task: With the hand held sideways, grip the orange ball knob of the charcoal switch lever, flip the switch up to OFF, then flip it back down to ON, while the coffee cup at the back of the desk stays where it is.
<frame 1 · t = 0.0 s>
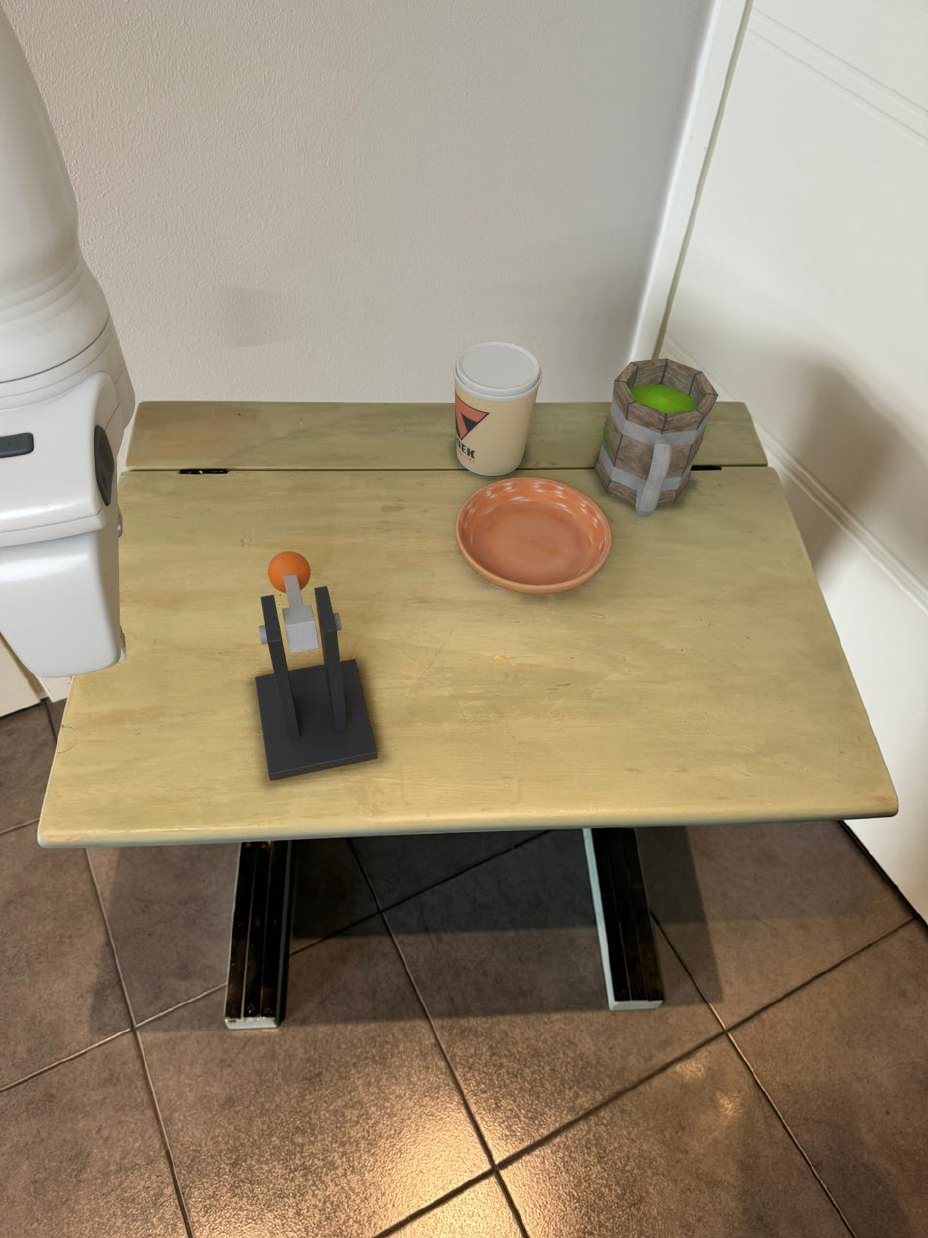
hand: (109, 588, 47), 26 cm above the table, tool pointing down, fingers open, 8 cm apart
saucer: (530, 549, 87), on the table
lever: (294, 597, 67), point 11 cm above the table, hinge at -22.0°
switch base: (315, 720, 73), on the table
mug: (640, 491, 94), on the table
coffee cup: (489, 455, 97), on the table
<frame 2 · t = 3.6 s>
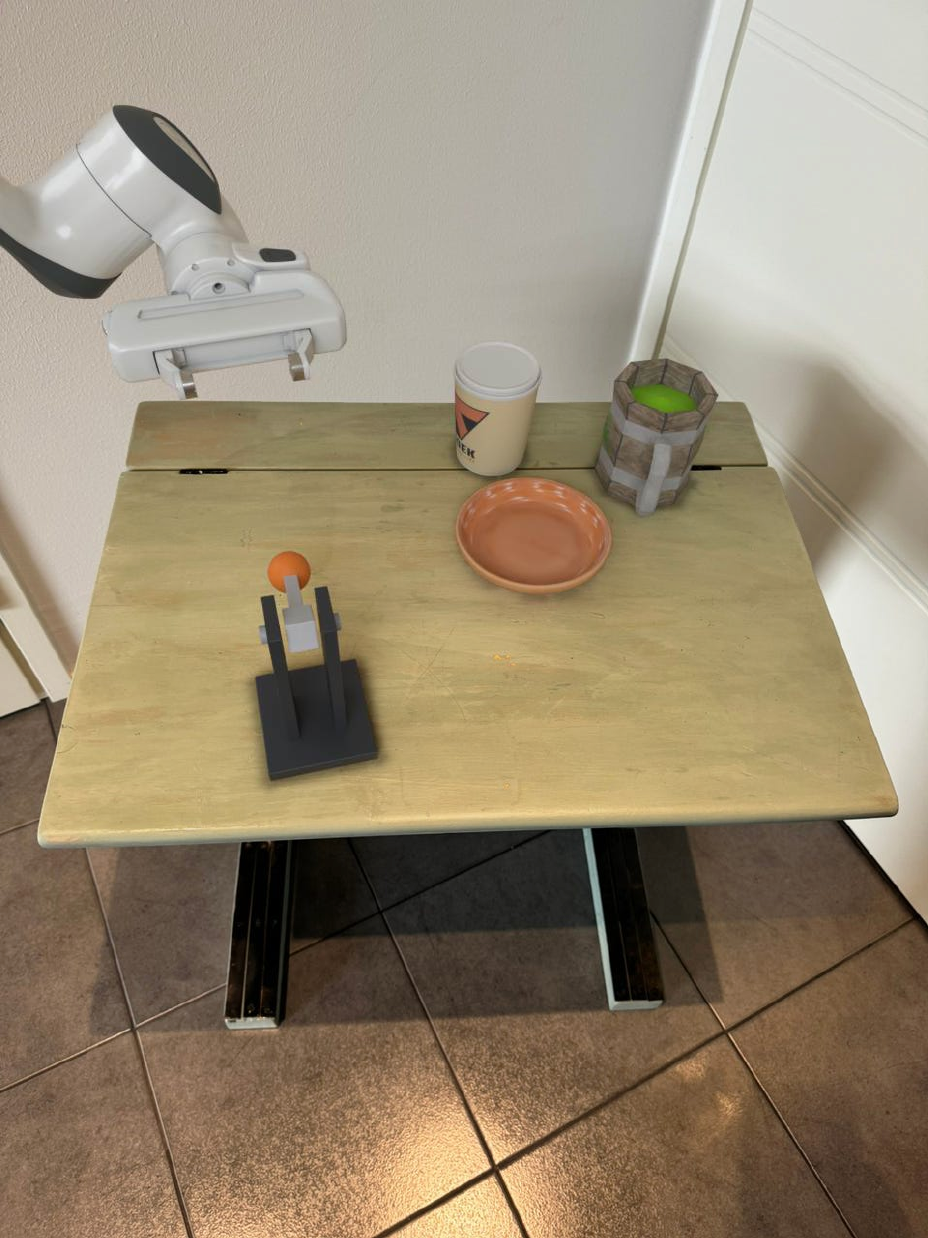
hand: (245, 382, 69), 20 cm above the table, tool horizontal, fingers open, 8 cm apart
nothing on the table moved.
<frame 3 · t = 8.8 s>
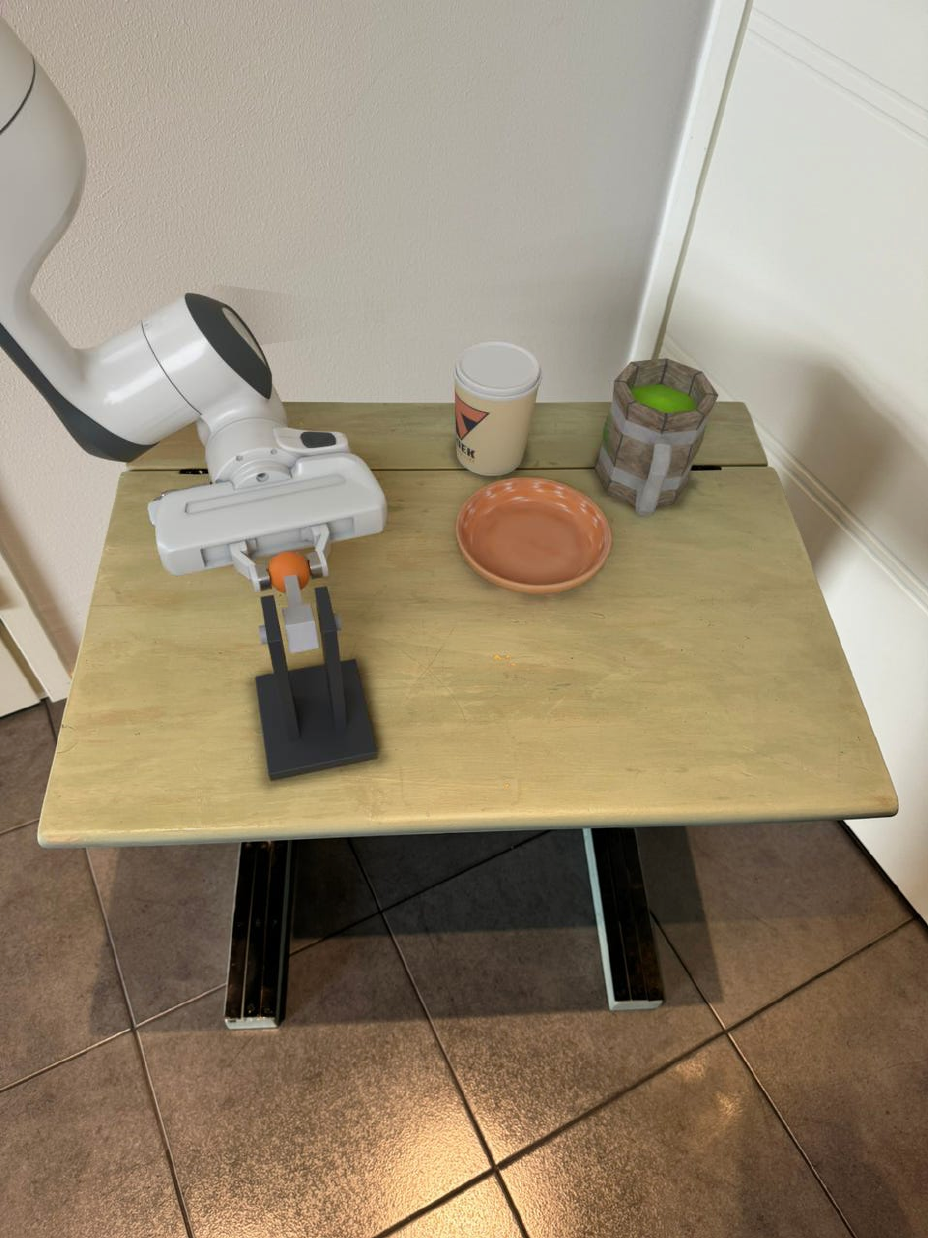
hand: (292, 579, 71), 9 cm above the table, tool horizontal, fingers closed on lever, 3 cm apart
lever: (294, 597, 67), point 11 cm above the table, hinge at -22.0°, touching gripper
everything else where it was.
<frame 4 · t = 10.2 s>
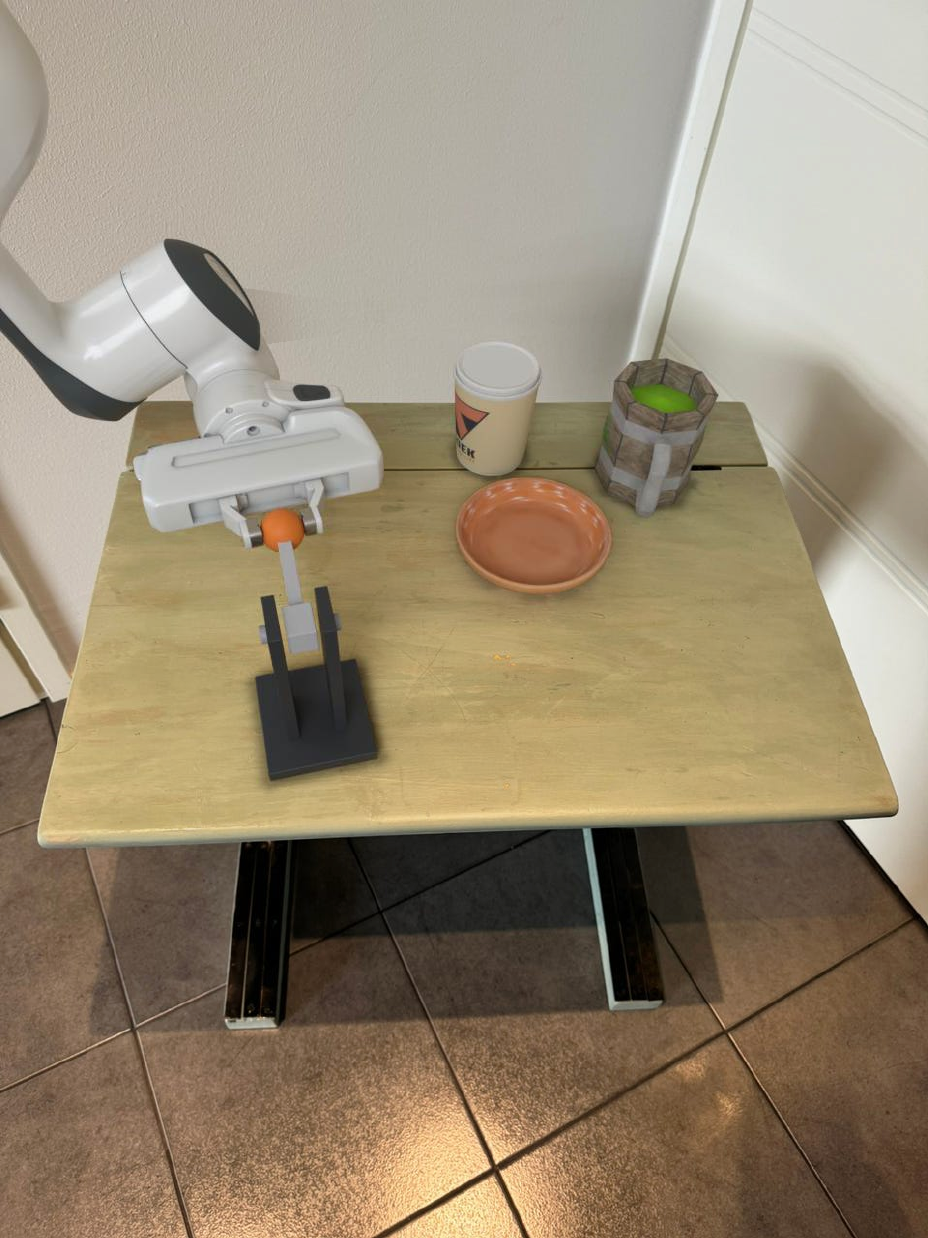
hand: (284, 535, 67), 14 cm above the table, tool horizontal, fingers closed on lever, 3 cm apart
lever: (290, 575, 65), point 13 cm above the table, hinge at 3.2°, touching gripper
everything else where it was.
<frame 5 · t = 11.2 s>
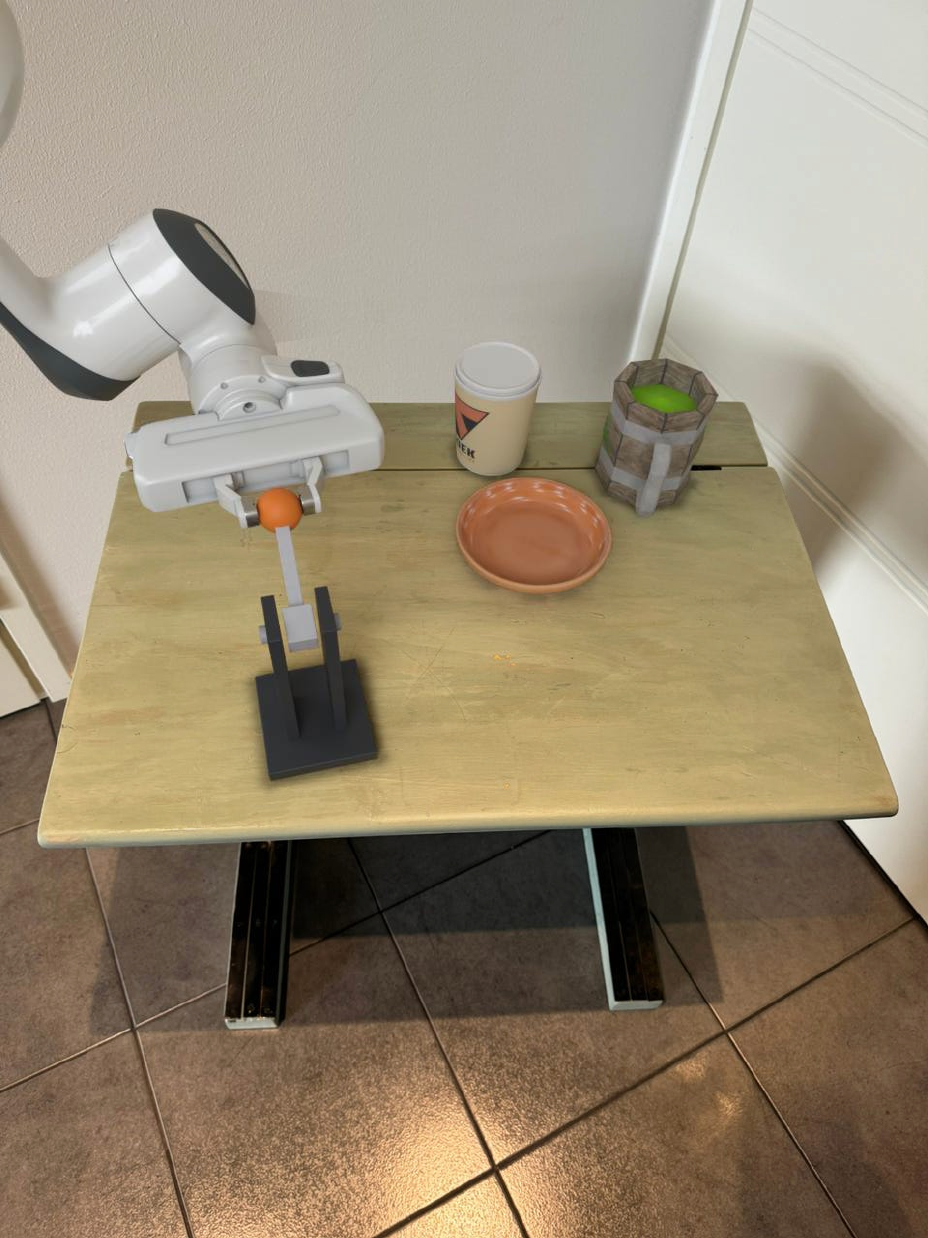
hand: (281, 515, 65), 17 cm above the table, tool horizontal, fingers closed on lever, 3 cm apart
lever: (289, 565, 64), point 15 cm above the table, hinge at 19.4°, touching gripper
everything else where it was.
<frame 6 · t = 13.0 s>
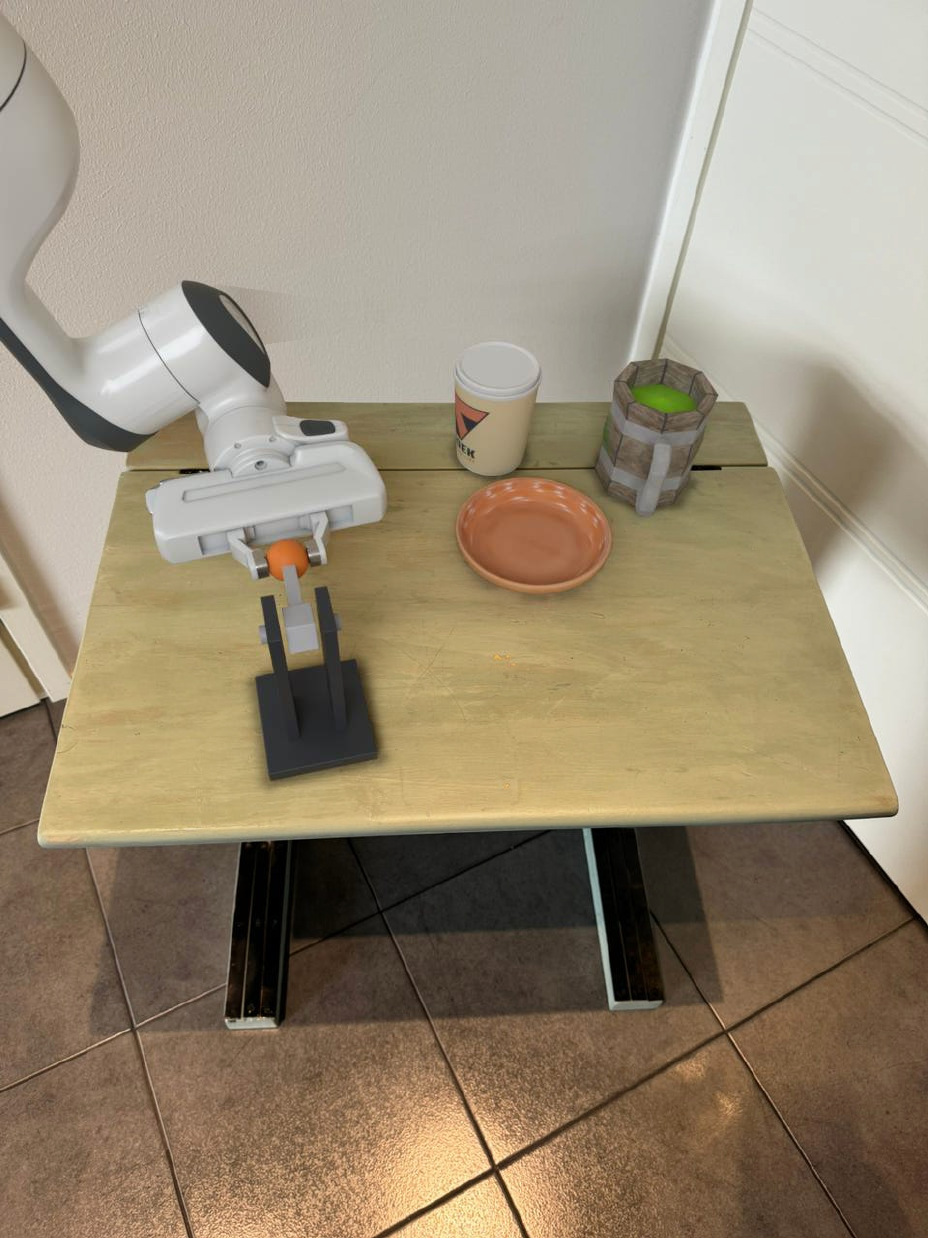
hand: (290, 567, 70), 11 cm above the table, tool horizontal, fingers closed on lever, 3 cm apart
lever: (293, 591, 67), point 12 cm above the table, hinge at -15.5°, touching gripper
everything else where it was.
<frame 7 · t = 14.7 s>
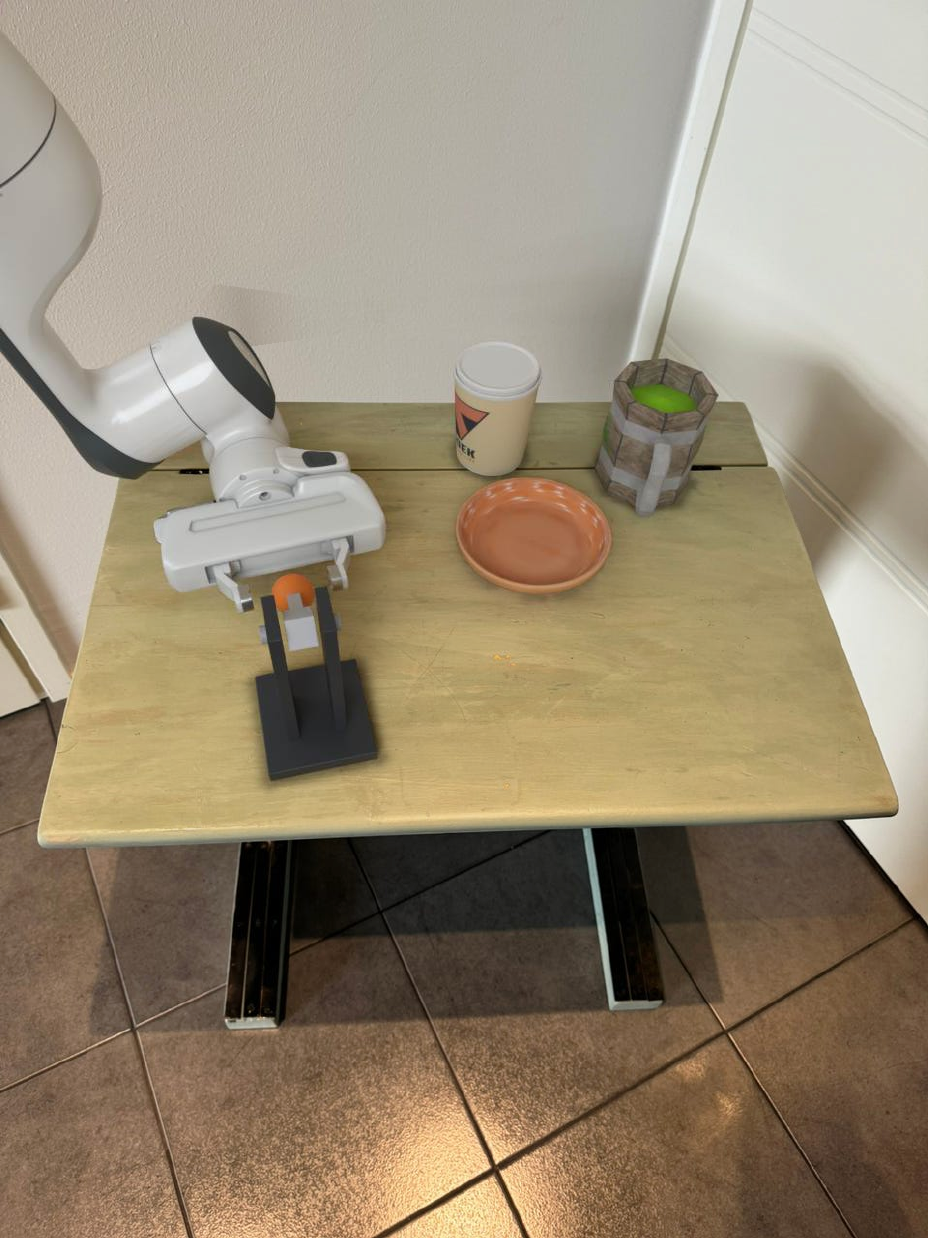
hand: (293, 596, 73), 7 cm above the table, tool horizontal, fingers open, 7 cm apart
lever: (296, 609, 67), point 10 cm above the table, hinge at -33.6°
everything else where it was.
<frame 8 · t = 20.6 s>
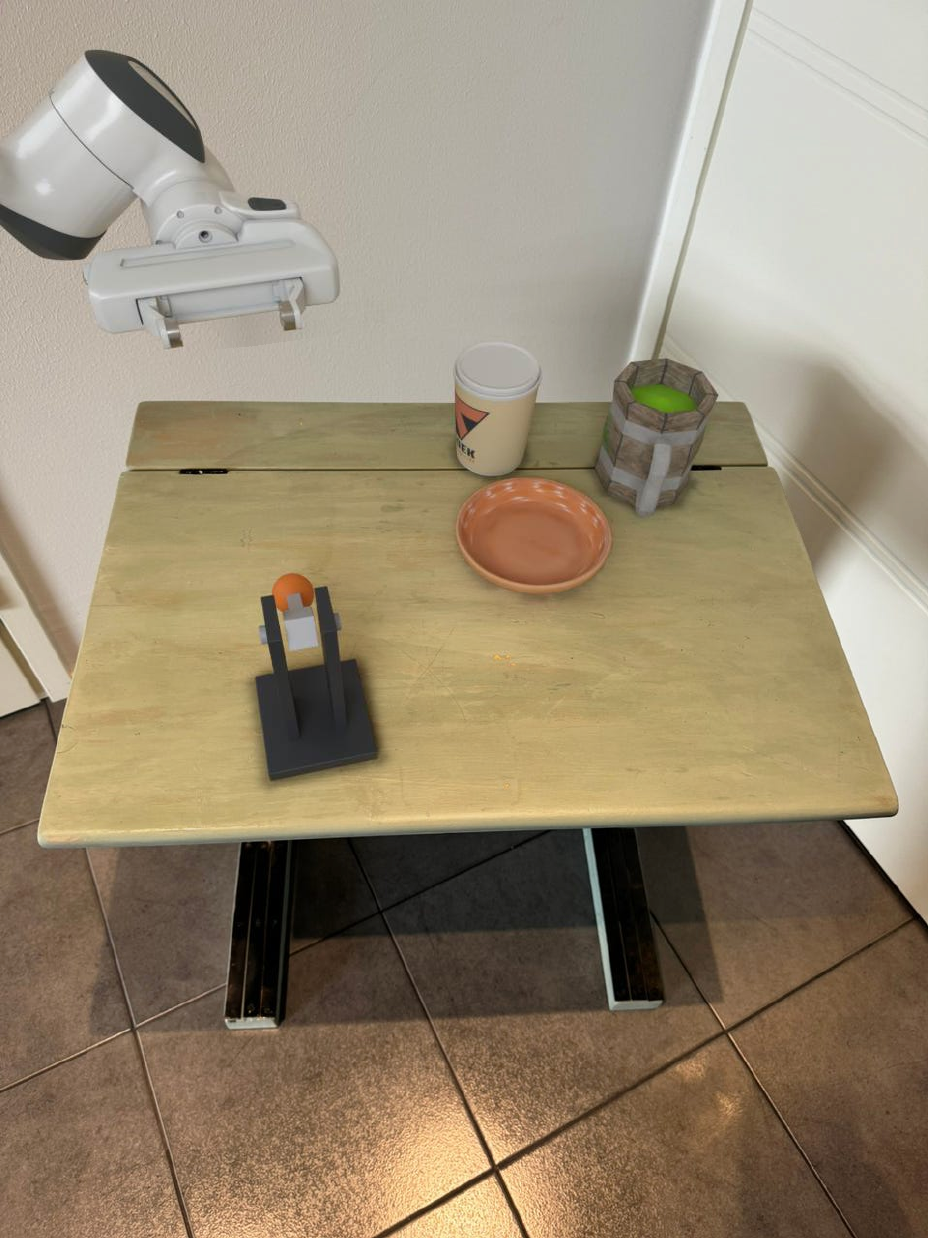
hand: (233, 331, 66), 25 cm above the table, tool horizontal, fingers open, 8 cm apart
nothing on the table moved.
at the end: lever reached +19° during the clip, -34° at the end; lever at -34° (first picture: -22°); coffee cup moved 0.2 cm from its start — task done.
